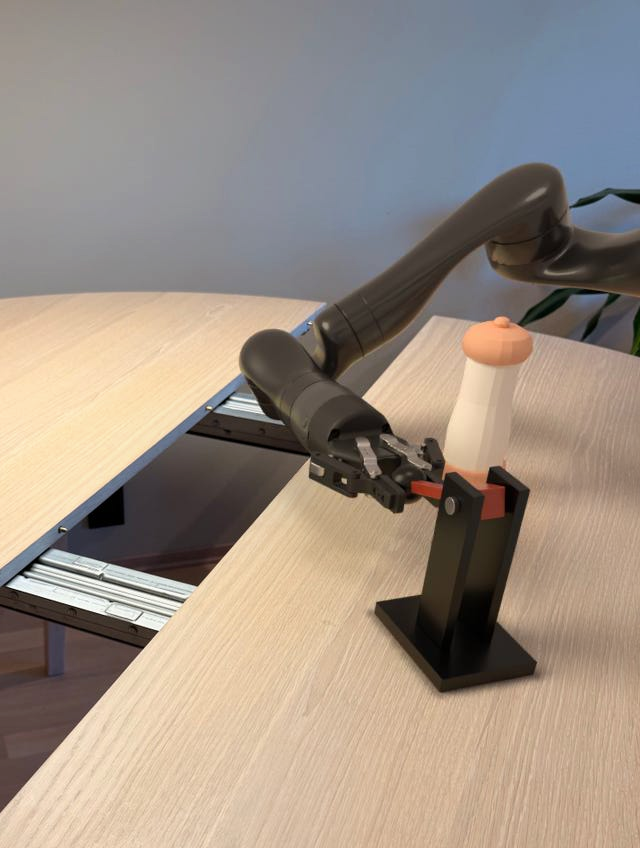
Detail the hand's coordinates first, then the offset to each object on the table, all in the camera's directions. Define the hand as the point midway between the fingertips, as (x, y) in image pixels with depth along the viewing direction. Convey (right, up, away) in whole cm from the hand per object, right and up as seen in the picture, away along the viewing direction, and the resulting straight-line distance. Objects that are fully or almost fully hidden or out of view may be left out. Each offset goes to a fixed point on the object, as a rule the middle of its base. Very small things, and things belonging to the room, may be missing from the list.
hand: (421, 500), depth 87 cm
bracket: (+2, -13, -1) cm, 13 cm away
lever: (+1, -1, -3) cm, 3 cm away
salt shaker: (+11, +5, +23) cm, 26 cm away
